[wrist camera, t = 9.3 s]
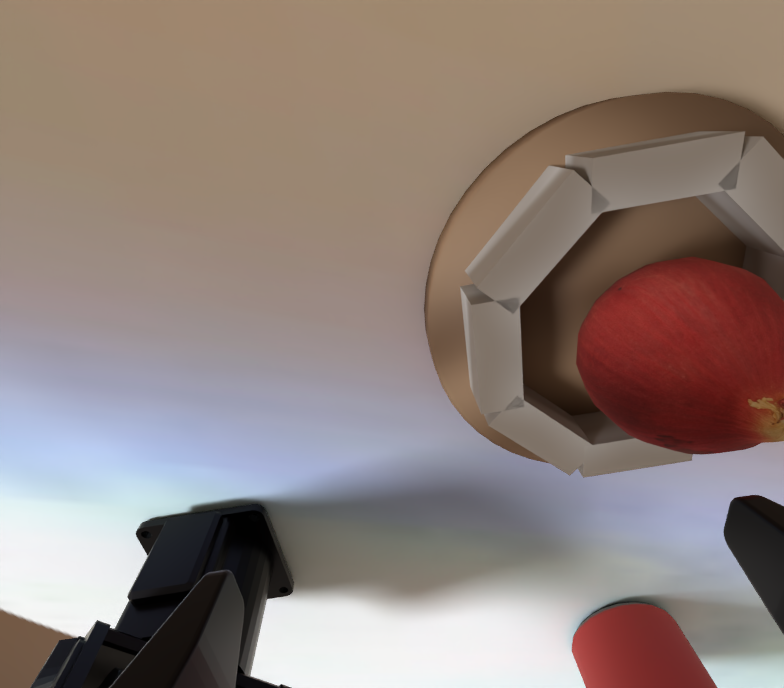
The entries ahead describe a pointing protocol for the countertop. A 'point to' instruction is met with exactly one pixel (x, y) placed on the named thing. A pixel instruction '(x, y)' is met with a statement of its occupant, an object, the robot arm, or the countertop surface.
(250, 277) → the countertop surface
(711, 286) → the onion
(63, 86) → the countertop surface
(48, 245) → the countertop surface
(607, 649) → the beer can
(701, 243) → the ring board
